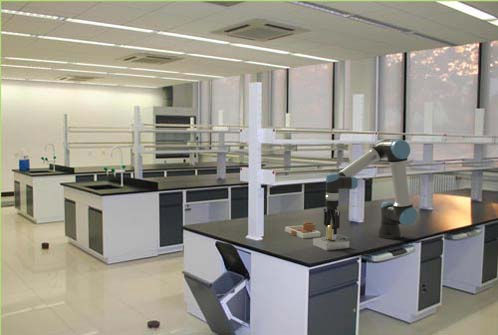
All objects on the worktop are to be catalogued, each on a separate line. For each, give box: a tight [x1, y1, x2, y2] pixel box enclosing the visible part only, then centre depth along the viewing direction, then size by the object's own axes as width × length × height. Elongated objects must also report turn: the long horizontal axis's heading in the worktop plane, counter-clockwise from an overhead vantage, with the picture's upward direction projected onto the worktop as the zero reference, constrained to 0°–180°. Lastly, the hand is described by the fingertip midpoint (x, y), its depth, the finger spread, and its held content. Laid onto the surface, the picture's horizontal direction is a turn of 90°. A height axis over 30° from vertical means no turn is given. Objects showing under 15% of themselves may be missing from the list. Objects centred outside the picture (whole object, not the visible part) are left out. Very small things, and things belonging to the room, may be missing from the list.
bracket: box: [290, 221, 316, 237], centre depth 296 cm, size 18×8×7 cm, turn 121°
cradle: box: [284, 224, 321, 239], centre depth 296 cm, size 13×23×3 cm, turn 24°
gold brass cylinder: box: [327, 224, 335, 241], centre depth 262 cm, size 4×4×12 cm
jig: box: [312, 233, 350, 251], centre depth 262 cm, size 16×14×6 cm
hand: (331, 238), depth 262 cm, fingers open, 5 cm apart
